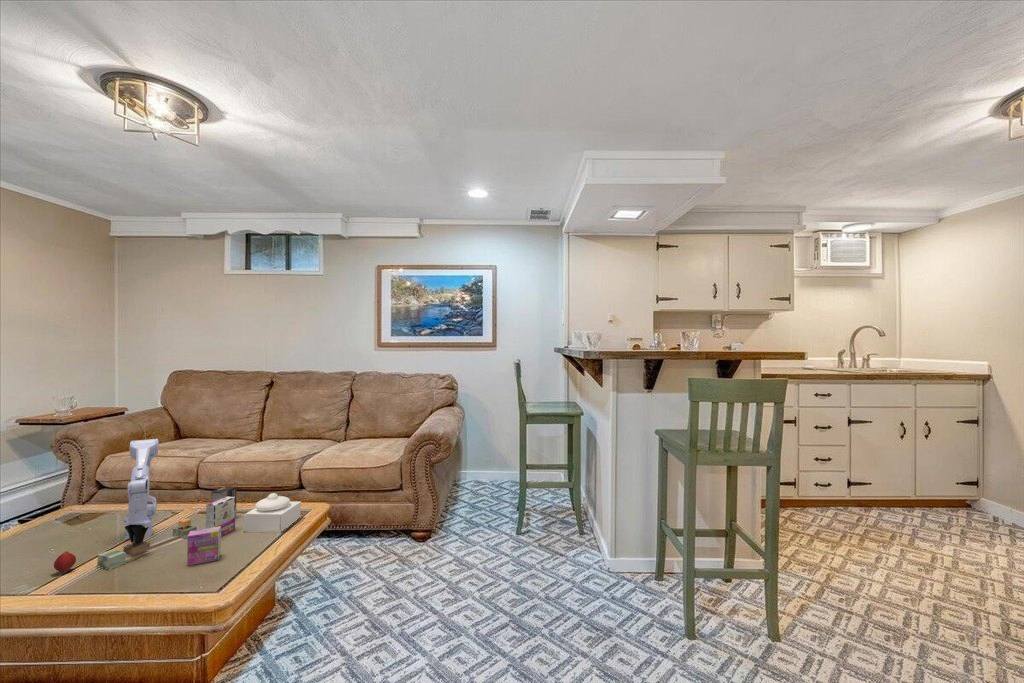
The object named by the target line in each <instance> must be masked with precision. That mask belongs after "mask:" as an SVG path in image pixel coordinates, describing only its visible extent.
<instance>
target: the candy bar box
mask: <svg viewBox="0 0 1024 683" xmlns="http://www.w3.org/2000/svg"><path fill="white" fill-rule="evenodd" d="M205 510H206V512H205V513H206V514H205V515H206V516H205V517H206V518H205V529H207V528H213V527H219V526H221V538H222V537H224V536H226V535H228V534H231V533H232V532H234V531H236V518H235V497H229V496H227V497H224V498H222V499H219V500H217V501H214V502H212V501H211V502H210V503H207V504H206V506H205Z"/></svg>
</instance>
